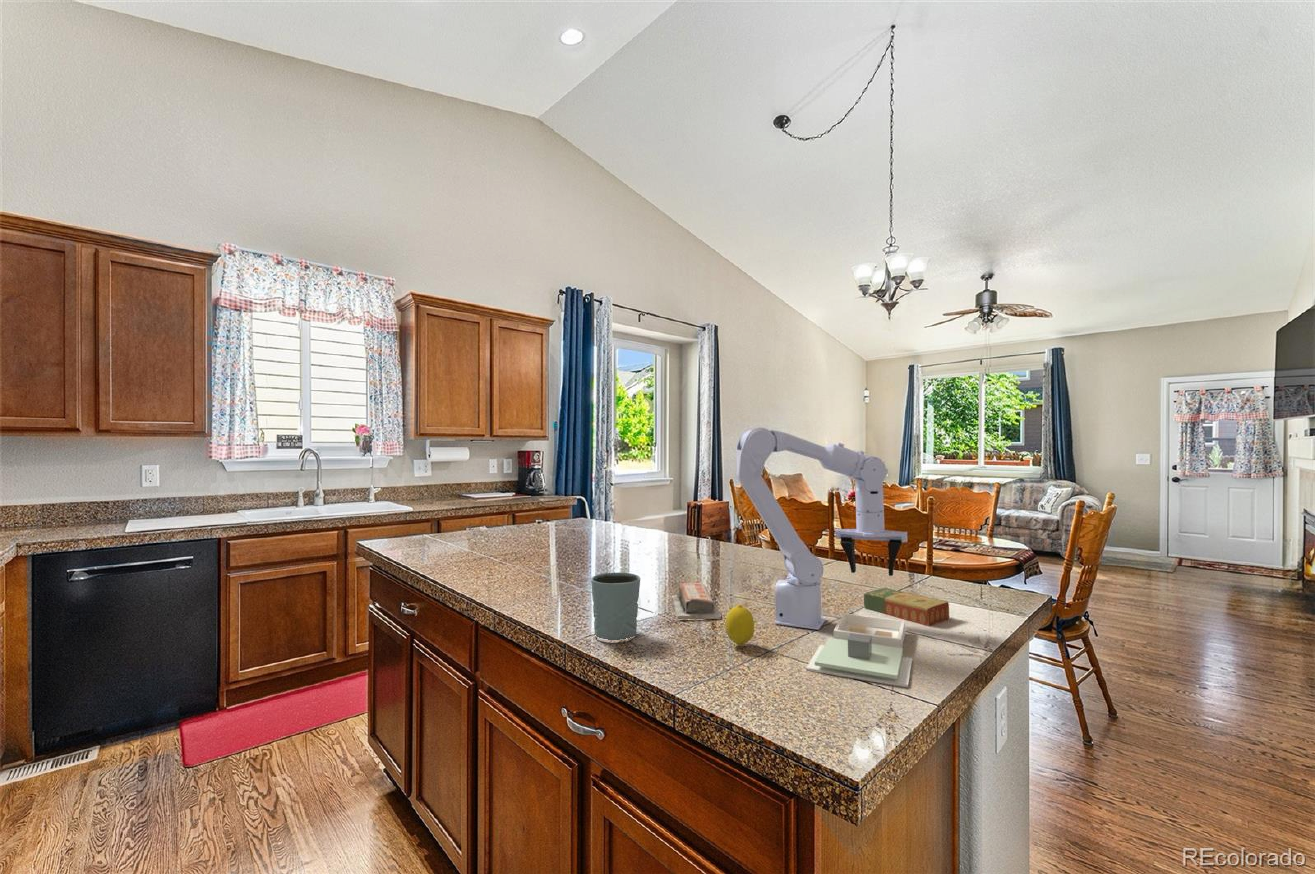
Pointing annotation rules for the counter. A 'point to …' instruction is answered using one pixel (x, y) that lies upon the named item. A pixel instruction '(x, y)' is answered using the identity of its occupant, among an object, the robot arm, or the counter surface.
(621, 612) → the grey-green cup
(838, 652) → the lid
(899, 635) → the box
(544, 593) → the counter surface
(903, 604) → the carton
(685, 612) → the packaged product
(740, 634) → the lemon
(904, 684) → the mat
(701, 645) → the counter surface
